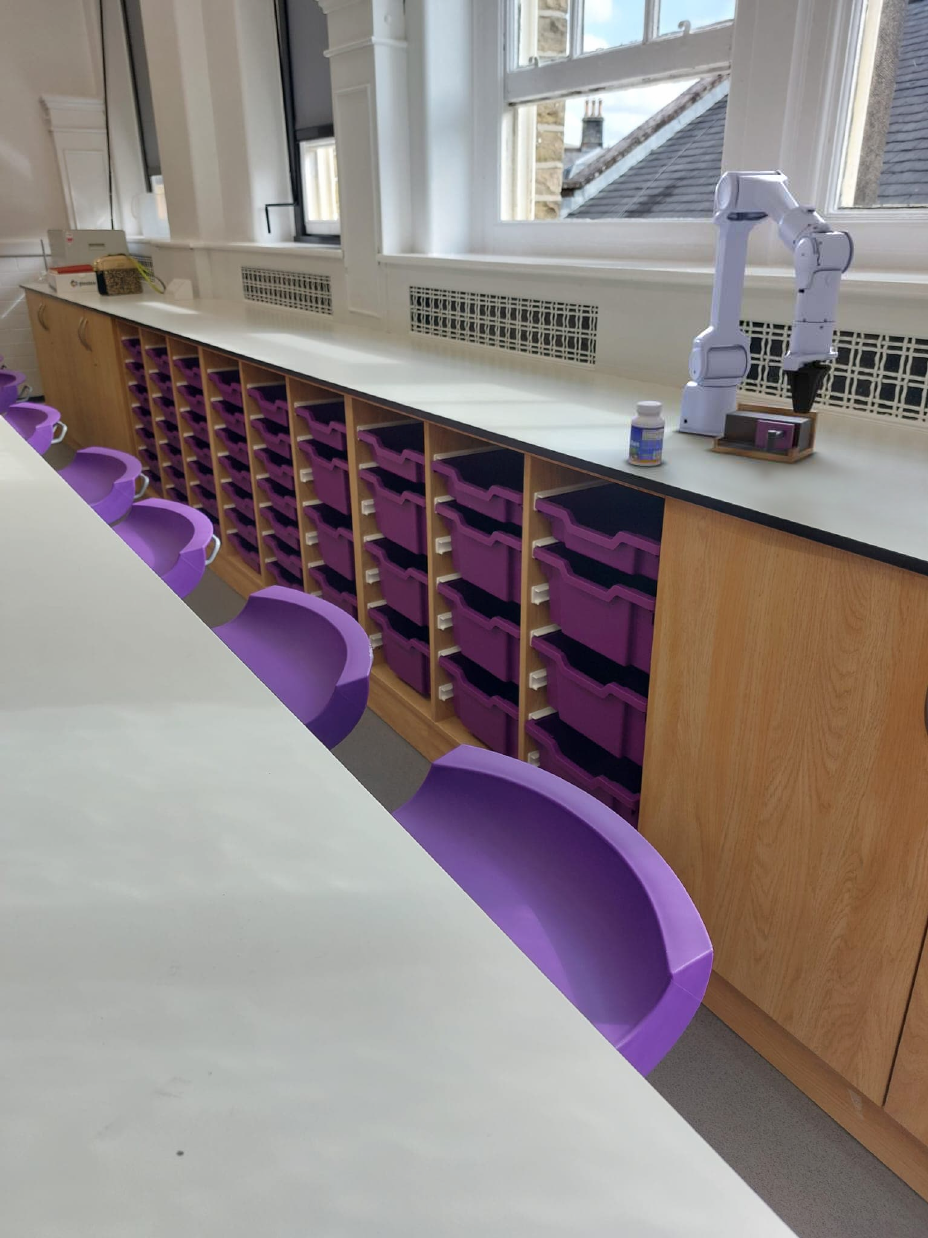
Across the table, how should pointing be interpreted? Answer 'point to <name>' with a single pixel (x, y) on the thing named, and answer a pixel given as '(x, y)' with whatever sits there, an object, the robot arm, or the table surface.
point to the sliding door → (774, 435)
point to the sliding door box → (744, 430)
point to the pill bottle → (647, 434)
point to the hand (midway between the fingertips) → (801, 412)
